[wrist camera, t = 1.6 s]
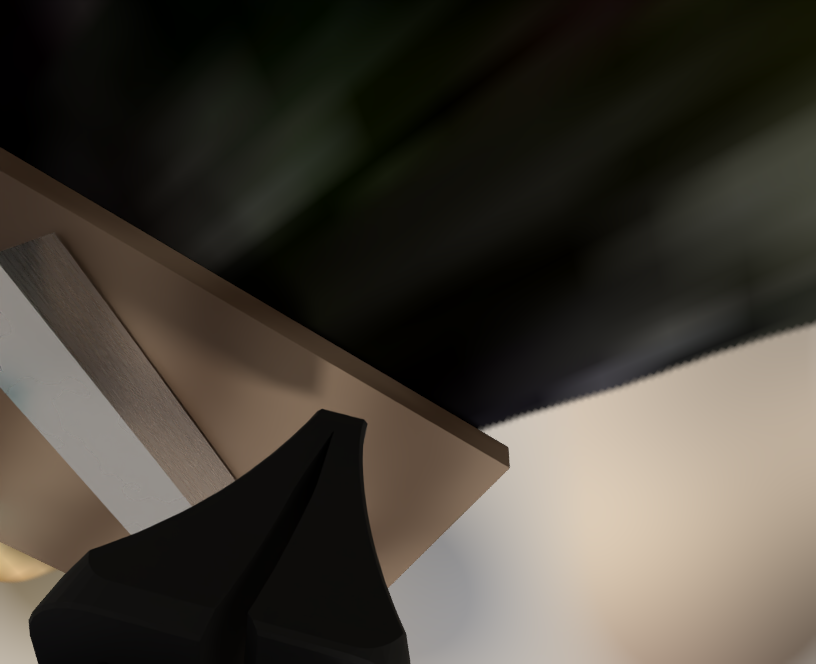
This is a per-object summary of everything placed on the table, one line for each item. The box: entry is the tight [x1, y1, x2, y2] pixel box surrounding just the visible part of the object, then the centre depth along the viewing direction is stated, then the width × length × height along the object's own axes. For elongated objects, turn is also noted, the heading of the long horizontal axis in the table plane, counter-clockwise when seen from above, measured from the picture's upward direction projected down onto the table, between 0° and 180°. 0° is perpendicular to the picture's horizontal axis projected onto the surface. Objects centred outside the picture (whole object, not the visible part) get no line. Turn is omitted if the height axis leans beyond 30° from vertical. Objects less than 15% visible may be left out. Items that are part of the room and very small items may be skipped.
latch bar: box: [0, 232, 235, 535], centre depth 16 cm, size 16×4×3 cm, turn 24°
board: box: [0, 147, 510, 588], centre depth 19 cm, size 21×17×1 cm
